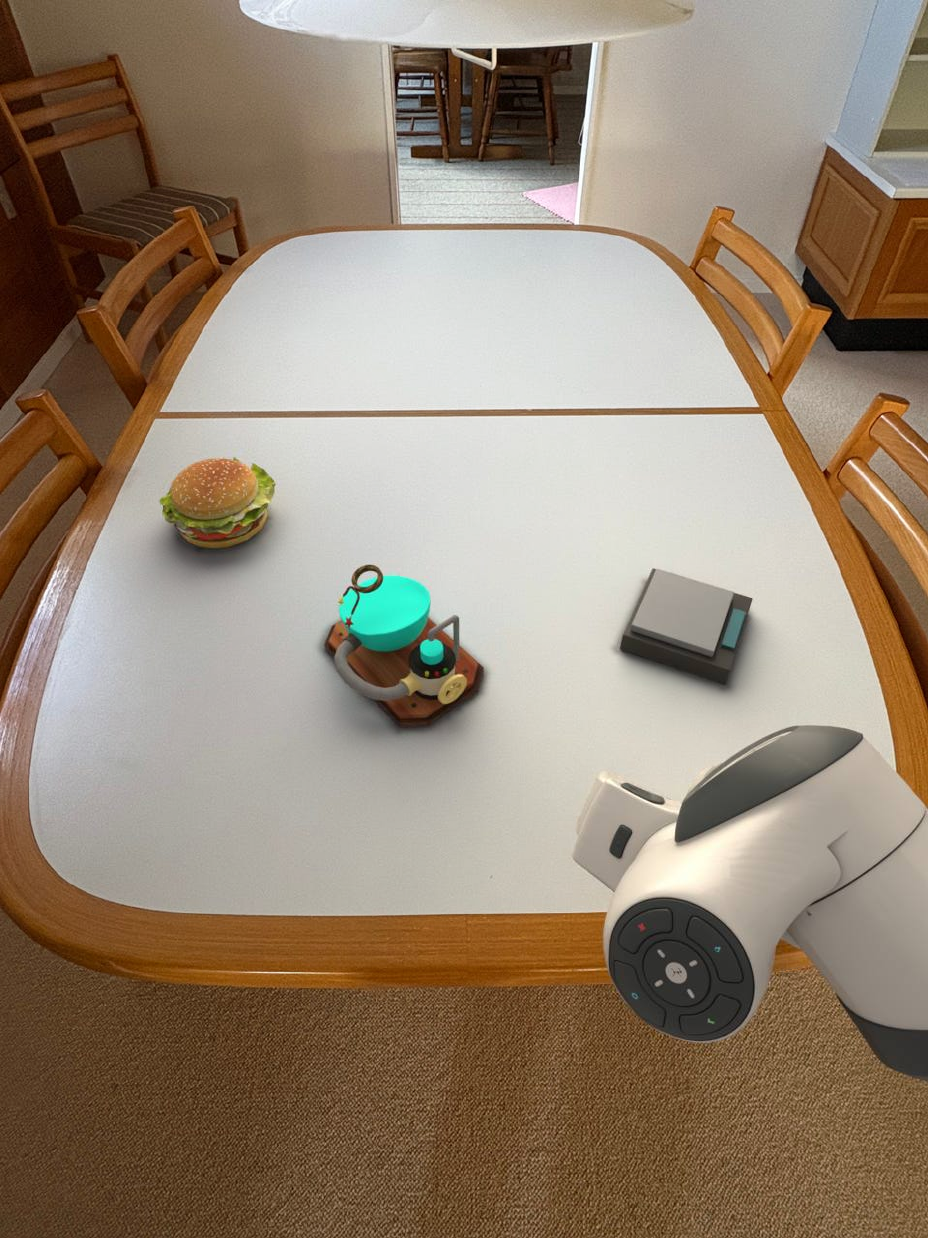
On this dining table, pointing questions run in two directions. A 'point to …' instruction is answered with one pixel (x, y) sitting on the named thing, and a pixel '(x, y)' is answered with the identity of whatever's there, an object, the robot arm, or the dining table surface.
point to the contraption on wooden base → (400, 650)
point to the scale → (687, 625)
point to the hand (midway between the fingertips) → (719, 834)
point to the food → (218, 502)
